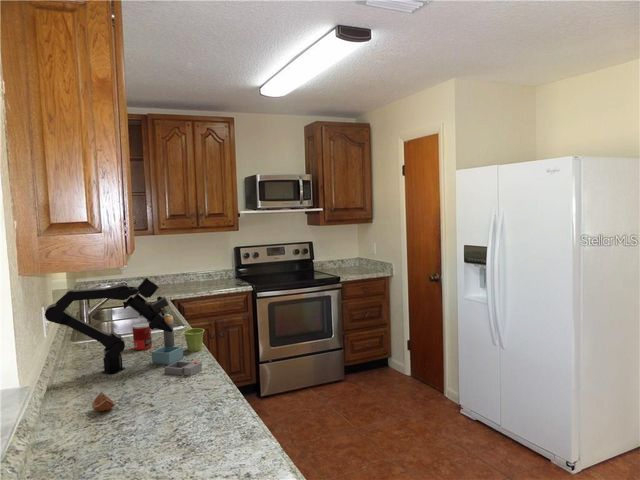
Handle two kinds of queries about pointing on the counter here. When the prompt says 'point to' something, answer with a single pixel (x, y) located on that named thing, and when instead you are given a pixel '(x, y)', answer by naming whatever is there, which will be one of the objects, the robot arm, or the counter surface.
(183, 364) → the tester
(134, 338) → the canned food
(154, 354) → the bin
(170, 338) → the battery cell
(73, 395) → the counter surface
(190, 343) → the plant pot
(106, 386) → the counter surface
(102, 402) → the brown lump
